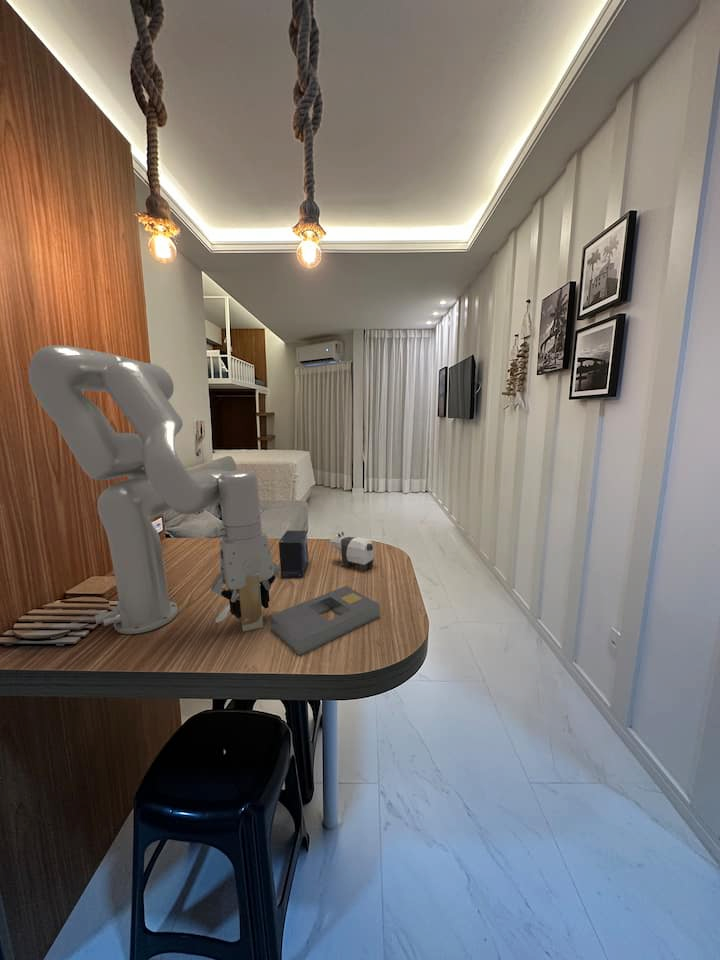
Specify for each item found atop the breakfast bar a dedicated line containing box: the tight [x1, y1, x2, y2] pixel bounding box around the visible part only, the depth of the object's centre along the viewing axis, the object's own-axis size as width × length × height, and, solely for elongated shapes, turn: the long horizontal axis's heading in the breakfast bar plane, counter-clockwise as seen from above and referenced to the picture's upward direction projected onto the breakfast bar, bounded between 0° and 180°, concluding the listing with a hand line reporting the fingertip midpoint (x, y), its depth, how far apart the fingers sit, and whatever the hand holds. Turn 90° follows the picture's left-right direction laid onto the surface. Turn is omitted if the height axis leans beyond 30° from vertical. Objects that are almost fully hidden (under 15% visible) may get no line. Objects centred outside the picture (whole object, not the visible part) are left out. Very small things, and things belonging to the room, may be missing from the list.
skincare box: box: [238, 573, 264, 632], centre depth 81 cm, size 6×4×12 cm
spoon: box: [215, 594, 239, 623], centre depth 90 cm, size 4×21×2 cm, turn 173°
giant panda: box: [329, 531, 375, 573], centre depth 110 cm, size 15×6×10 cm, turn 56°
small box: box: [278, 530, 309, 579], centre depth 108 cm, size 11×6×10 cm, turn 179°
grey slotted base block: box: [269, 585, 381, 656], centre depth 81 cm, size 20×12×3 cm, turn 129°
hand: (250, 610), depth 81 cm, fingers closed on skincare box, 5 cm apart
